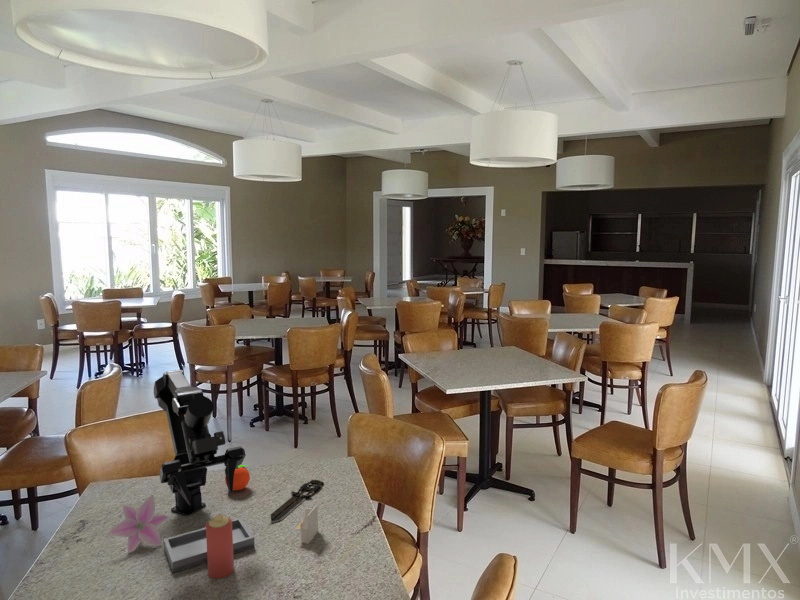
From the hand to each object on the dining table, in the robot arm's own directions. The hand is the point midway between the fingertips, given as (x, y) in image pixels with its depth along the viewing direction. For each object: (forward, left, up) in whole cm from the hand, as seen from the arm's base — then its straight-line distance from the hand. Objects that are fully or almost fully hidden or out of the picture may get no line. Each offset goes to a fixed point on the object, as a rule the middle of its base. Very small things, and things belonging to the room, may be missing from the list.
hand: (211, 498), depth 124 cm
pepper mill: (+7, -4, -13) cm, 15 cm away
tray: (-2, +1, -13) cm, 13 cm away
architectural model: (+16, +15, -14) cm, 26 cm away
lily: (-19, -5, -13) cm, 24 cm away
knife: (+2, +28, -14) cm, 32 cm away
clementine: (-18, +27, -13) cm, 35 cm away
